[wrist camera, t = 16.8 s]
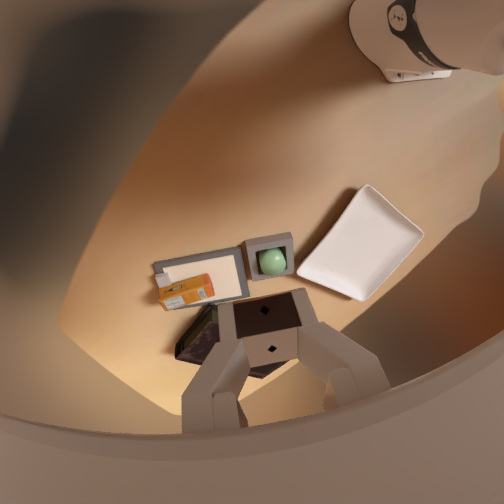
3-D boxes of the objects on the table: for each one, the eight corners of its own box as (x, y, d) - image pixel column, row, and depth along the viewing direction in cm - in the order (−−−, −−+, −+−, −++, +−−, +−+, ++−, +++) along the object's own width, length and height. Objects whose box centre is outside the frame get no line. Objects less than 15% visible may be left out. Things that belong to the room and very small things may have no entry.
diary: (258, 365, 74) (261, 381, 70) (174, 344, 63) (174, 361, 59) (303, 330, 66) (308, 346, 62) (211, 299, 55) (212, 318, 51)
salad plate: (289, 264, 54) (293, 275, 51) (357, 174, 45) (366, 182, 42) (358, 293, 62) (364, 304, 60) (417, 225, 53) (426, 234, 50)
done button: (281, 243, 50) (285, 253, 47) (282, 262, 52) (286, 273, 50) (256, 248, 50) (259, 258, 47) (259, 267, 52) (262, 277, 50)
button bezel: (290, 231, 49) (292, 238, 48) (291, 266, 54) (294, 273, 52) (245, 240, 49) (246, 246, 47) (251, 274, 54) (252, 281, 52)
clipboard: (240, 245, 49) (241, 252, 48) (249, 294, 57) (250, 300, 55) (152, 262, 49) (151, 269, 47) (172, 307, 56) (172, 314, 54)
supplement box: (213, 285, 53) (164, 299, 52) (208, 272, 51) (157, 287, 50) (216, 297, 50) (164, 312, 49) (211, 284, 48) (157, 299, 47)
